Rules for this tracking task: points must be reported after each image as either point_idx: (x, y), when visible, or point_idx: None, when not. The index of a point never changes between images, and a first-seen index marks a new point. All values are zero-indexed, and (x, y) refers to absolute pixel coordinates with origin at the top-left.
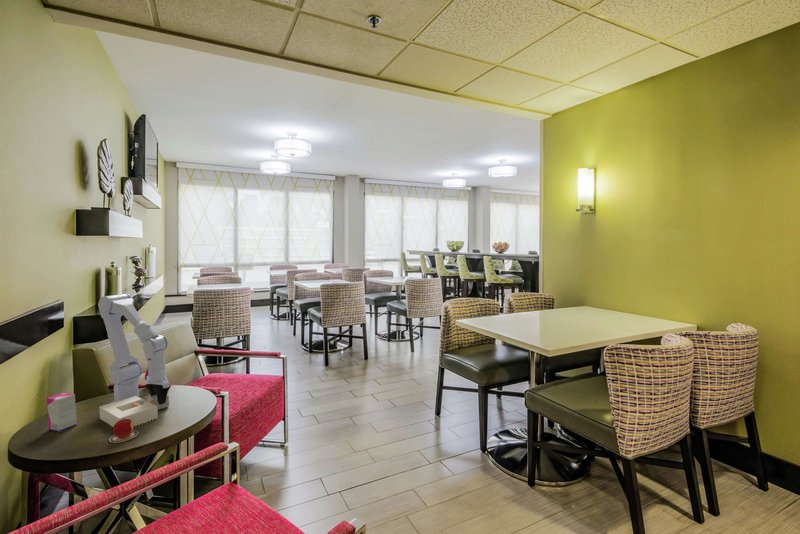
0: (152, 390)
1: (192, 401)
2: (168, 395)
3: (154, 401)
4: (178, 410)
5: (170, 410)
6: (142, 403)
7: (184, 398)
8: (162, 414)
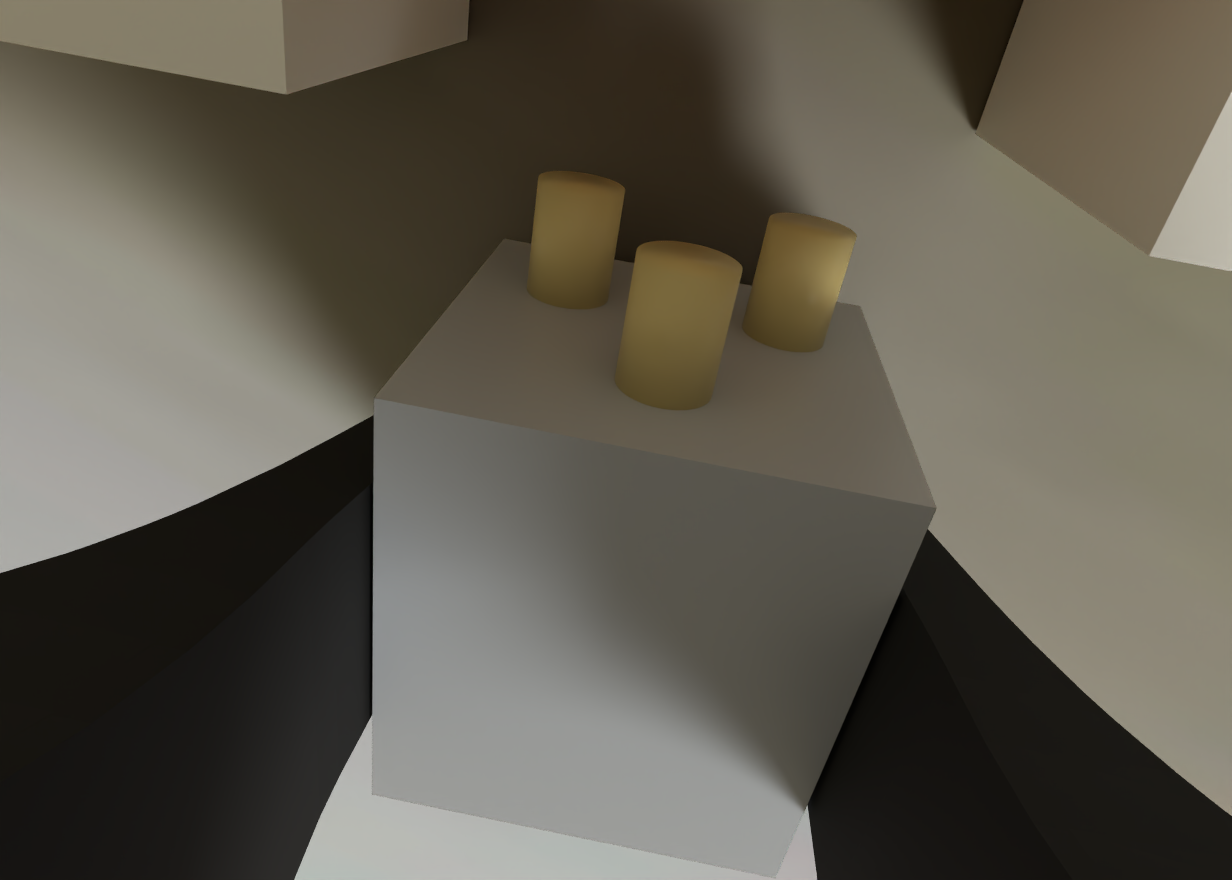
0: (959, 860)
1: (357, 808)
2: (382, 780)
3: (443, 358)
4: (121, 482)
5: (270, 425)
6: (1061, 180)
7: (635, 859)
8: (174, 192)
